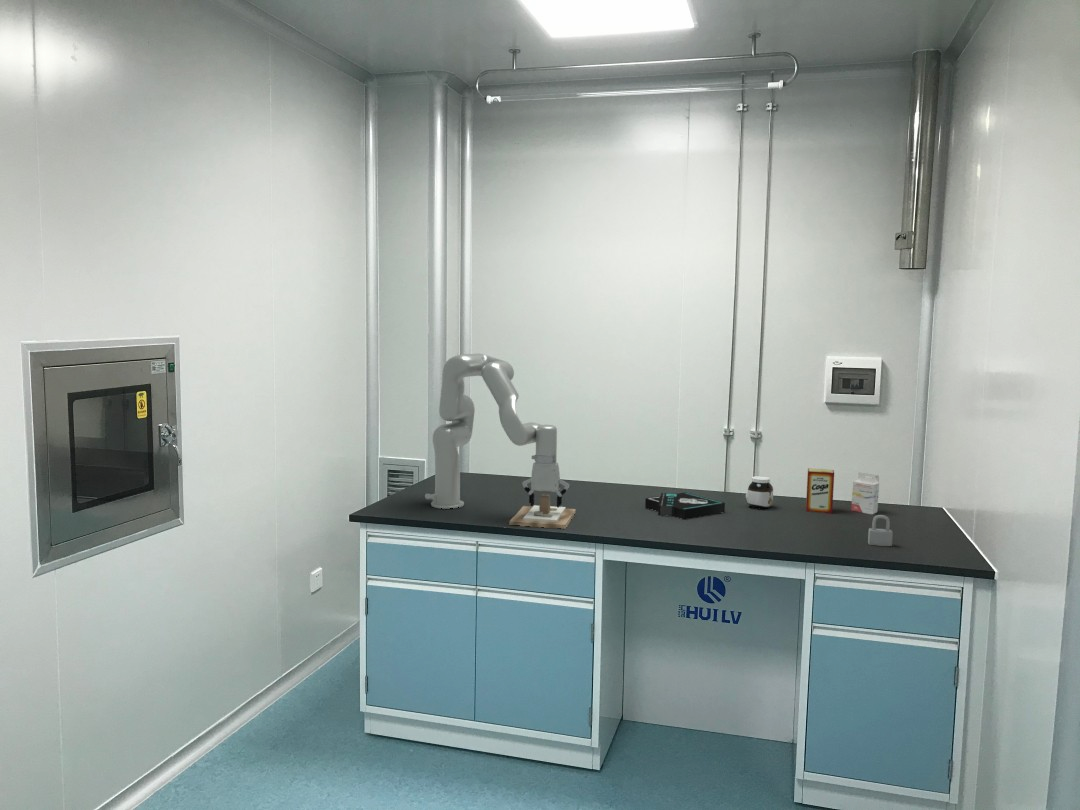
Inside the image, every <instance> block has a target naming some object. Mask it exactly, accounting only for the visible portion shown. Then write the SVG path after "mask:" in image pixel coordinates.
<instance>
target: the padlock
mask: <svg viewBox="0 0 1080 810" xmlns="http://www.w3.org/2000/svg"><path fill="white" fill-rule="evenodd" d="M878 519H882V520H885V528H876V527H877V521H878ZM890 521H891V520H890V518H889V517H888V516H887V515H884V514H878V515H875V516H873V519H872V522H871V523H872V524H871V527H869V528H868V533H867V537H868V538H867V543H868V545H869V546H878V547H879V546H881V547H890V546H891V547H893V537H894V535H893V533H894V532H893V530H892V529H890V527H891V525H890V524H891V522H890Z"/></svg>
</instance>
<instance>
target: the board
mask: <svg viewBox="0 0 1080 810" xmlns="http://www.w3.org/2000/svg"><path fill="white" fill-rule="evenodd" d="M538 506H539V508H540V504H539V505H538ZM532 507H533V506H531V505H529V506H527V505H523V506H522V507H521V508H520V509H519V510H518V511H517V513H516V514H515V515H513V517H512V518H511V519H510V520H509V521H508V523H509V525H520V526H519V527H525V526H530V527H529V528H541V527H544V528H545V529H557V528H561V530H566V529H567V528H566V527H568V526H569V524H570V523H571V521H572V520H573V519H574V517H575V515H576V512H577V511H576V510H577V509H575V508H566V510H565V511H564V513H563V514H562V516H561V517H560V519H559V520H558V521H557V523H552V522H535V521H523V517H524V516H525V515H526V514H527V513H528V512H529V511H530V509H531V508H532ZM574 514H575V515H574ZM534 515H536V516H540V517H541V515H543V512H542V511H535V512H534ZM550 518H551V517H550ZM571 519H572V520H571ZM509 525H508V526H509ZM544 528H543V529H544Z"/></svg>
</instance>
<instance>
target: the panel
mask: <svg viewBox="0 0 1080 810" xmlns="http://www.w3.org/2000/svg"><path fill="white" fill-rule="evenodd" d="M539 505H540V508H539ZM539 505H536V504H534V505H533V506H531V507H532V508H531V509H530V511H529V512H528V513H527V514H526V515H525V516H524V517H523V521H535V522H552V523H557V521H558V520H559V519H560V517H561V516H562V514H563V513H564V511H565V510H566V509H567V508H566V506H560V507H559V508H558V507H557V506H552V505H551V494H541V495H540V497H539ZM535 511H542V512H543V515H541V517H540V516H536V515H534V512H535ZM550 517H551V518H550Z"/></svg>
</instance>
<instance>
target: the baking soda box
mask: <svg viewBox="0 0 1080 810" xmlns="http://www.w3.org/2000/svg"><path fill="white" fill-rule="evenodd" d="M806 477H807V479H806V480H807V481H806V499H805V502H806V503H805V512H809V511H815V512H814V513H822V512H824V513H825V514H833V508H834V507H833V506H834V505H833V503H834V486H835V485H834V483H835V470H834V469H827V468H809V467H808V468H807V476H806Z"/></svg>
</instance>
